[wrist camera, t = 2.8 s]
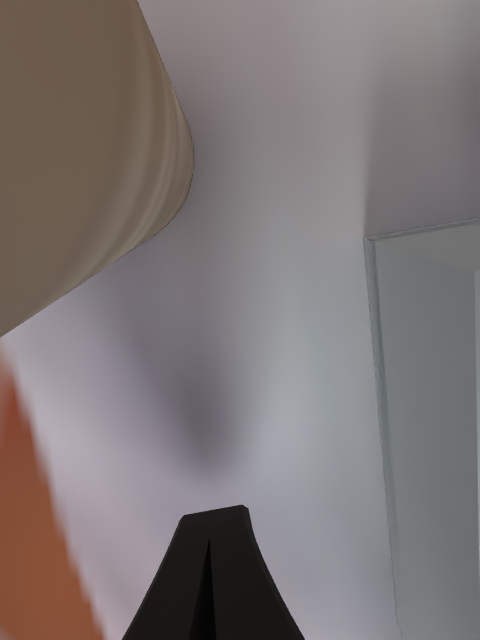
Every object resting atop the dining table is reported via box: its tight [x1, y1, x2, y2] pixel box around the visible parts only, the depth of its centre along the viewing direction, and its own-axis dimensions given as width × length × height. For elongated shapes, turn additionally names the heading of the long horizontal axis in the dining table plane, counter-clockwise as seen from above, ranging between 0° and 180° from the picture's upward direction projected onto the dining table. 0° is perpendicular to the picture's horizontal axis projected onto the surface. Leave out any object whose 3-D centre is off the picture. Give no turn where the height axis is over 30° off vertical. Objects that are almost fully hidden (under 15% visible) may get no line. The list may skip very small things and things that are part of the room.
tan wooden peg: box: [0, 0, 194, 337], centre depth 5 cm, size 4×4×7 cm
